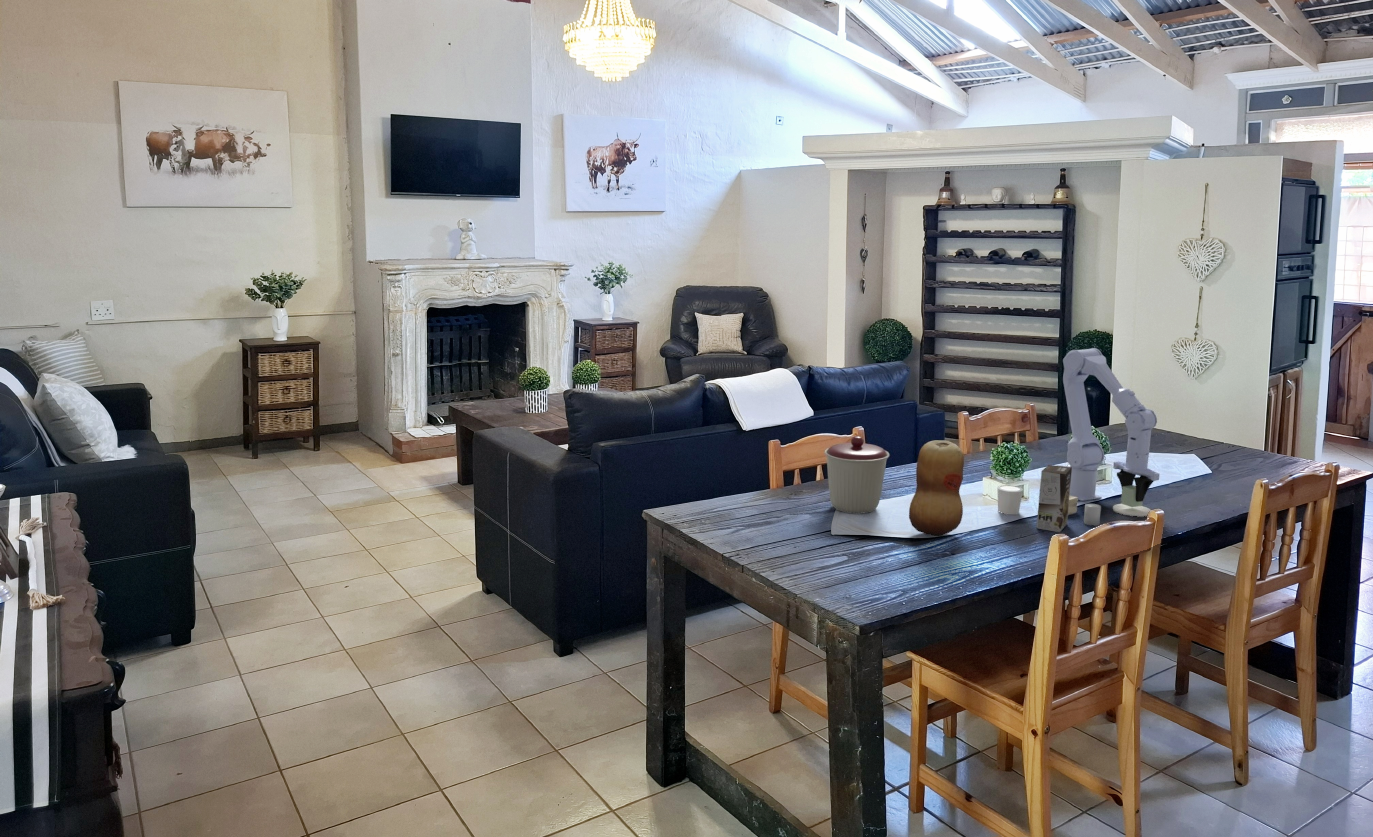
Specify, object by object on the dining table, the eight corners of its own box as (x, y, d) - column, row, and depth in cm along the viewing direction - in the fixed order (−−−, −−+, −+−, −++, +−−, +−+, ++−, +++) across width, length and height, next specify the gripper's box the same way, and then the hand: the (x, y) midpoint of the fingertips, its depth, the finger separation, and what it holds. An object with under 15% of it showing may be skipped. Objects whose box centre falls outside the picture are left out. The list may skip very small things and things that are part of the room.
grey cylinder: (1080, 522, 279) (1081, 504, 278) (1091, 520, 280) (1093, 503, 279) (1091, 526, 275) (1092, 508, 274) (1102, 524, 277) (1104, 507, 276)
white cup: (1008, 516, 283) (1010, 492, 281) (990, 510, 289) (992, 486, 287) (1026, 513, 286) (1028, 489, 285) (1008, 507, 292) (1010, 483, 290)
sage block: (1120, 503, 289) (1122, 486, 288) (1131, 501, 291) (1133, 485, 290) (1131, 507, 285) (1133, 490, 284) (1142, 505, 287) (1144, 488, 286)
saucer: (1104, 508, 291) (1105, 506, 291) (1131, 504, 295) (1131, 502, 295) (1132, 518, 282) (1132, 515, 282) (1159, 514, 286) (1159, 511, 286)
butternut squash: (928, 545, 258) (934, 450, 253) (898, 530, 270) (902, 438, 265) (972, 539, 264) (979, 445, 258) (940, 524, 276) (946, 434, 270)
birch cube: (1053, 511, 288) (1054, 496, 287) (1062, 509, 291) (1063, 493, 290) (1067, 515, 285) (1068, 500, 284) (1076, 512, 287) (1077, 497, 287)
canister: (898, 508, 290) (902, 436, 285) (863, 522, 277) (866, 447, 272) (845, 496, 302) (848, 426, 297) (809, 508, 289) (812, 436, 284)
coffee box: (1060, 532, 269) (1065, 474, 266) (1035, 528, 273) (1040, 470, 269) (1068, 524, 277) (1073, 466, 273) (1043, 520, 280) (1048, 463, 277)
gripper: (1107, 448, 290) (1102, 493, 293) (1148, 459, 277) (1142, 507, 280) (1125, 445, 293) (1121, 491, 295) (1166, 457, 280) (1161, 504, 282)
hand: (1133, 499), depth 288 cm, fingers closed on sage block, 4 cm apart
